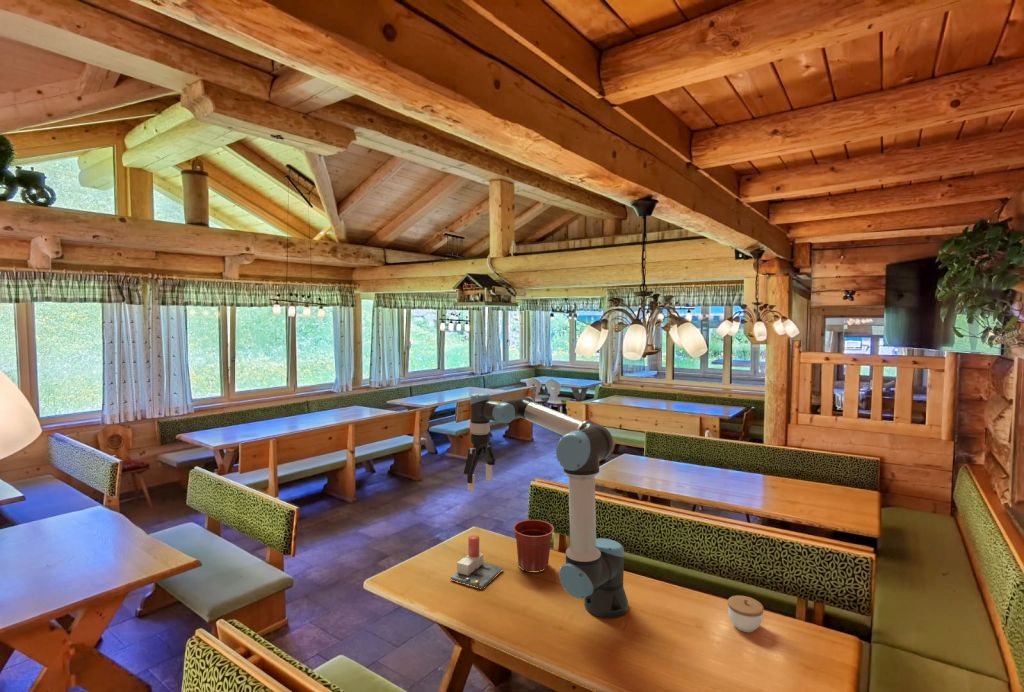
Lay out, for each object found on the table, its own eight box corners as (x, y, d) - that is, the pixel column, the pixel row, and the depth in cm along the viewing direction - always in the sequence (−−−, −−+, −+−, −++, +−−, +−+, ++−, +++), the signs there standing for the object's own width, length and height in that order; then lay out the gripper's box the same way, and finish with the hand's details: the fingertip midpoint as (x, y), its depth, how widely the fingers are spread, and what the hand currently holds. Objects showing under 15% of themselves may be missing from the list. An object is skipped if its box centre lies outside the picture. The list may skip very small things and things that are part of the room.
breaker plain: (474, 569, 204) (474, 560, 204) (467, 575, 200) (467, 565, 199) (464, 566, 206) (464, 557, 206) (457, 572, 202) (457, 562, 202)
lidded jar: (742, 639, 164) (743, 610, 163) (720, 619, 174) (720, 593, 174) (770, 633, 167) (771, 605, 166) (747, 615, 177) (747, 588, 177)
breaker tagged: (483, 563, 209) (483, 553, 209) (476, 569, 205) (476, 558, 205) (472, 560, 212) (472, 550, 211) (466, 566, 207) (466, 555, 207)
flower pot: (560, 563, 214) (561, 525, 213) (541, 580, 200) (541, 539, 199) (526, 553, 222) (526, 516, 221) (505, 569, 208) (505, 530, 207)
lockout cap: (481, 553, 209) (481, 536, 209) (475, 558, 205) (475, 540, 205) (472, 551, 211) (471, 534, 211) (466, 555, 207) (466, 538, 207)
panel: (502, 571, 207) (502, 565, 207) (482, 589, 193) (482, 584, 193) (473, 563, 213) (473, 557, 213) (450, 580, 199) (450, 575, 199)
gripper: (488, 425, 216) (488, 475, 218) (454, 438, 194) (454, 493, 196) (503, 427, 213) (503, 478, 214) (471, 440, 191) (471, 497, 192)
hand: (480, 485), depth 205 cm, fingers open, 13 cm apart
